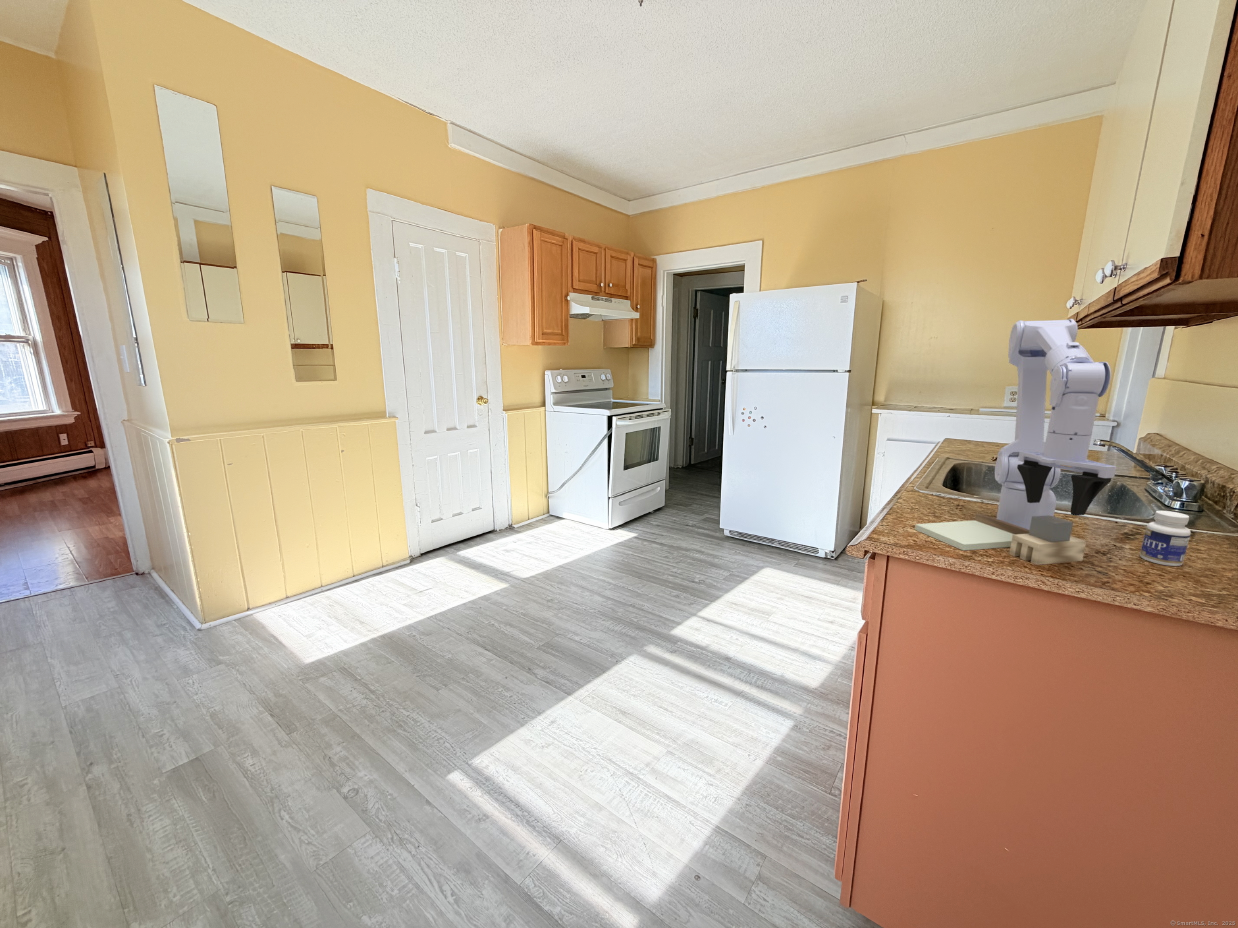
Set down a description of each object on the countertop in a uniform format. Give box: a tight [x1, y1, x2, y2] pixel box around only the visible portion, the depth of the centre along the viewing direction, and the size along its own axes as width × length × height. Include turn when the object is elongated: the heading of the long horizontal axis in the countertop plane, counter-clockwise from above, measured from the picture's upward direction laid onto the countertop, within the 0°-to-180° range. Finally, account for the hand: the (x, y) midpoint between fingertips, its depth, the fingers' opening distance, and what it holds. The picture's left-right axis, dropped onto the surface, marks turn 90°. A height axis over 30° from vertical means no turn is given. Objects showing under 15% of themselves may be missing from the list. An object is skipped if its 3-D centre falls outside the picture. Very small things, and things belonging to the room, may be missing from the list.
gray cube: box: [1029, 515, 1074, 542], centre depth 88 cm, size 4×4×4 cm
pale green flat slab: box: [914, 513, 1029, 551], centre depth 99 cm, size 16×12×3 cm
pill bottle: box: [1139, 510, 1191, 567], centre depth 87 cm, size 5×5×9 cm
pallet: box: [1009, 534, 1087, 566], centre depth 89 cm, size 10×5×4 cm, turn 101°
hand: (1054, 508), depth 87 cm, fingers open, 7 cm apart
